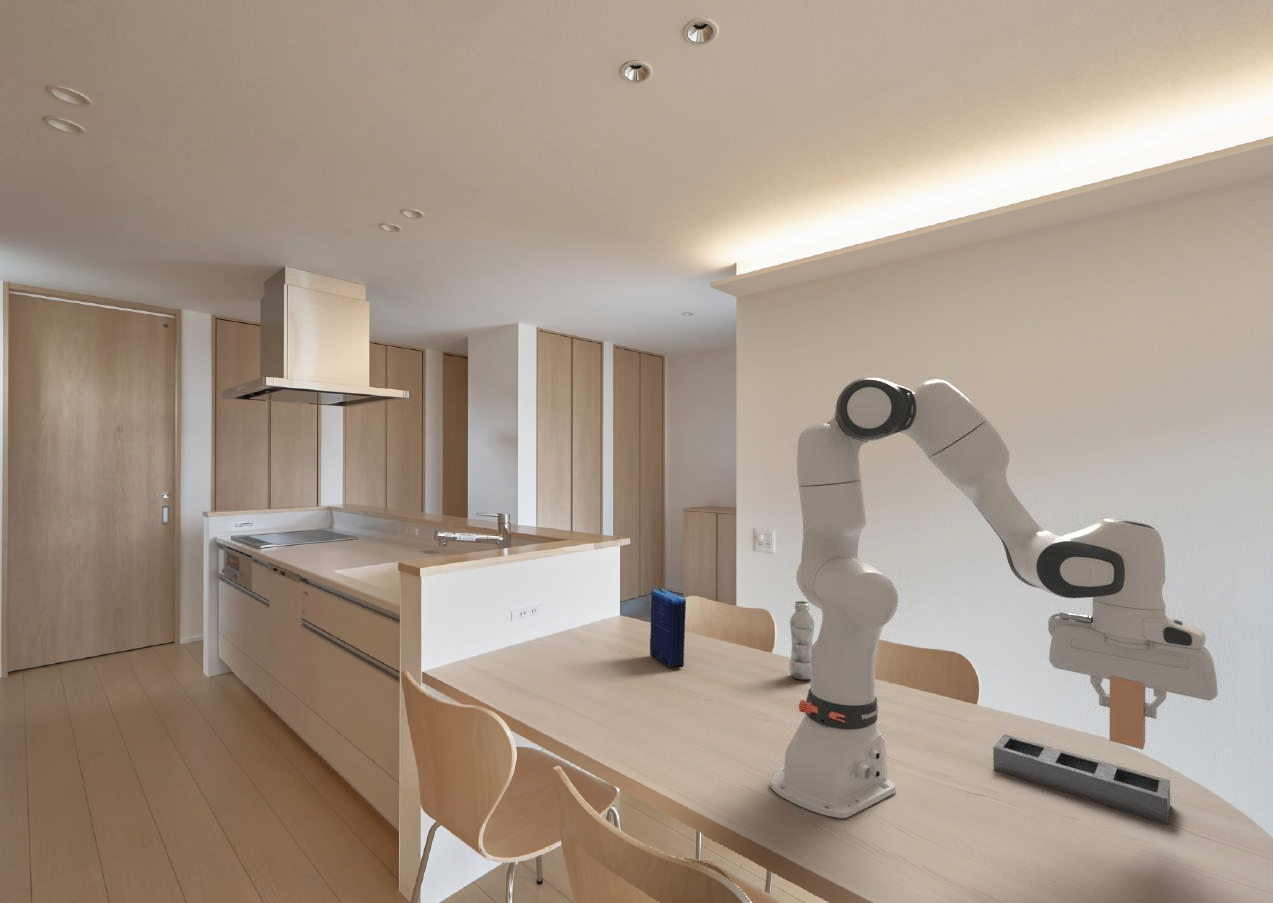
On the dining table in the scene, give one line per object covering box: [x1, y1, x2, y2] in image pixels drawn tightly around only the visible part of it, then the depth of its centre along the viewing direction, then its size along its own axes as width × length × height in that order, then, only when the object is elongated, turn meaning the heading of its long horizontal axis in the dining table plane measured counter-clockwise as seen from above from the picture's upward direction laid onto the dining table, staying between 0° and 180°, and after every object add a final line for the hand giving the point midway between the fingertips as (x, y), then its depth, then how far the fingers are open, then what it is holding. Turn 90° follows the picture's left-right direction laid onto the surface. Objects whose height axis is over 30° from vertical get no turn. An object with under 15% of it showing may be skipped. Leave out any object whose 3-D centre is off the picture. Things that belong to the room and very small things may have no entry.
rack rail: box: [992, 733, 1171, 826], centre depth 104 cm, size 8×24×4 cm, turn 46°
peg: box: [1109, 676, 1146, 750], centre depth 92 cm, size 4×4×10 cm
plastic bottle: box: [788, 600, 815, 681], centre depth 157 cm, size 6×7×20 cm
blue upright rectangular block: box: [649, 588, 687, 669], centre depth 168 cm, size 14×5×20 cm, turn 25°
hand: (1127, 711), depth 92 cm, fingers closed on peg, 4 cm apart
